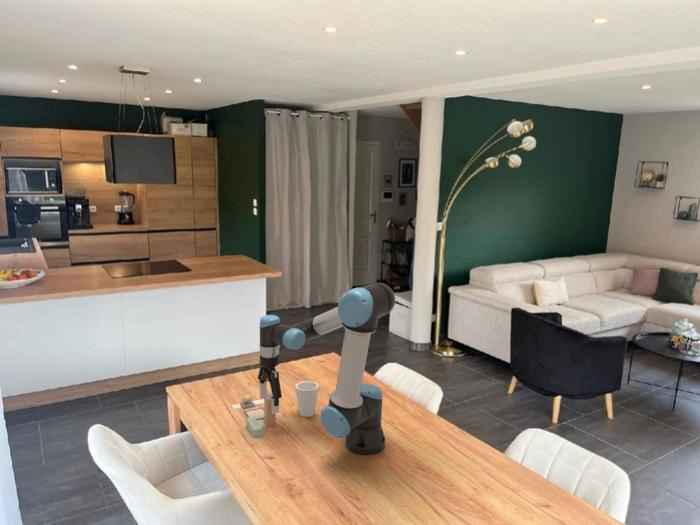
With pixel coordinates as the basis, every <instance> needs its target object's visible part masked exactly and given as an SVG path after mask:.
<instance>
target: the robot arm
mask: <svg viewBox="0 0 700 525" xmlns="http://www.w3.org/2000/svg"><path fill="white" fill-rule="evenodd" d="M395 304H396V295H395V293H394V291H393V289H392V288H391V287H390V286H389V285H387V284H386V283H382V282H373V283H371V284H366V285H364V286H359V287H355V288H352V289H350V290H347V291H346V292H345V293H343V295H341V296H340V299H339V301H338V304H337V307H334V308H332V309H330V310H327V311H326V312H325V311H324V312H322V313H321V314H319V315H316V316H314V317H312V318H310V319H307V320H304V321H301V322H298V323H295V324H292V325H285V324H282V323H281V320H280V317H279V316H277V315H275V314H267V315H263V316H262V317H260V318H259V365H260V367H259V370H258V375H257V380H259V400H260V399H263V400H264V398H265V397H266V395H267V394H268V383H269V386H270V391H271V394H272V395H273V397H271V399H272V414H274V413H276V414H278V413H280V399H282V396H283V395H282V390H281V389H282V388H281V384H280V382H281V381H280V374H279V373H280V372H279V371H277V369H276V367H277V366H279V364H280V355H279V354H280V348H281V346H282V347H285V348H287V349H290V350H291V349H292V350H294V351H296V350H300V349H301V348H302V347H303V345H304V344H305V342H308V341H310V340H312V339H316V338H319V337H321V336H323V335H325V334H328V333H331V332H333V331H335V330H337V329H340V328H342V327H343V328H344V329H345V331H344V336H343V342H342V349H341V355H340V360H339V366H338V372H337V379H336V385H335V389H334V390H332V391H331V393H330V395H329V399H328V404H327V405H326V406H324V407H323V408H322V410H321V411H320V415H319V418H320V421H321V422H320V423H321V425H322V426H323V429H324V430H325V431H326V432H327V433H328V435H330V436H331V437H333V438H336V439H340V438H341V439H342V438H344V444H345V447H346V449H348V450H349V451H350V452H352V453H355V454H358V455H366V456H367V455H375V454H377V453H378V454H379V453H380V452H382V451H383V450H384V449H385V447H386V437H385V433H384V430H383V427H382V412H383V410H382V409H383V399H384V398H383V391H382V389H381V387H379V386H378V385H375V384H372V383H367V382H363V379H364V373H365V368H366V362H367V357H368V352H369V351H368V350H369V346H370V341H371V340H370V339H371V337H372V336H371V335H372V334H374V333H375V332H376V331H377V327H378V324H379V319H380V318H382V317H384V316H386V315H388V314H390V313H391V312H392V311H393V309H394V308H395ZM267 382H268V383H267Z"/></svg>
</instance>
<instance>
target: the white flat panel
mask: <svg viewBox="0 0 700 525" xmlns="http://www.w3.org/2000/svg"><path fill="white" fill-rule="evenodd" d="M258 404H260V405H261V404H264V399H260V398H259V399H257V400H256V399H255V400H251V401H249V402H244V401H243V400H242V401H239V403H237V404H232V405H230V406H231V407H230V408H231V409H232V410H236V409H241V408H242V409H243V410H244V411H243V413H244V414H245V416H246V417H247V418H249V417H252V418H254V417H255V418H256V420H257V421H258V422H259V424H260V425H261V427H262V428H264V427H267V426H266V424H265V422H264V421H263V420H264V408H263V407H259V408H255V407H256V405H258ZM252 408H254V409H252ZM246 409H247V410H246ZM248 409H249V410H248Z"/></svg>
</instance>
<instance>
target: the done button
mask: <svg viewBox="0 0 700 525" xmlns="http://www.w3.org/2000/svg"><path fill="white" fill-rule="evenodd" d="M252 396H253V395H252V394H251V393H244V394H243V395H242V402H243V401H244V402H249V401H251V400H252ZM252 401H253V400H252Z"/></svg>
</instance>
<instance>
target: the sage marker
mask: <svg viewBox="0 0 700 525" xmlns="http://www.w3.org/2000/svg"><path fill="white" fill-rule="evenodd" d="M245 423H246V429H247V430H248V431H249V433H250V435H251V437H253V438H254V439H255V438H260V437H263V432H264V431H263V430H264V429H263V428H264V427H261V425H260V424H259V422H258V421H257V420H256V418H255V417H254V418H252V417H249V418H248V417H247V418H246V420H245Z"/></svg>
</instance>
